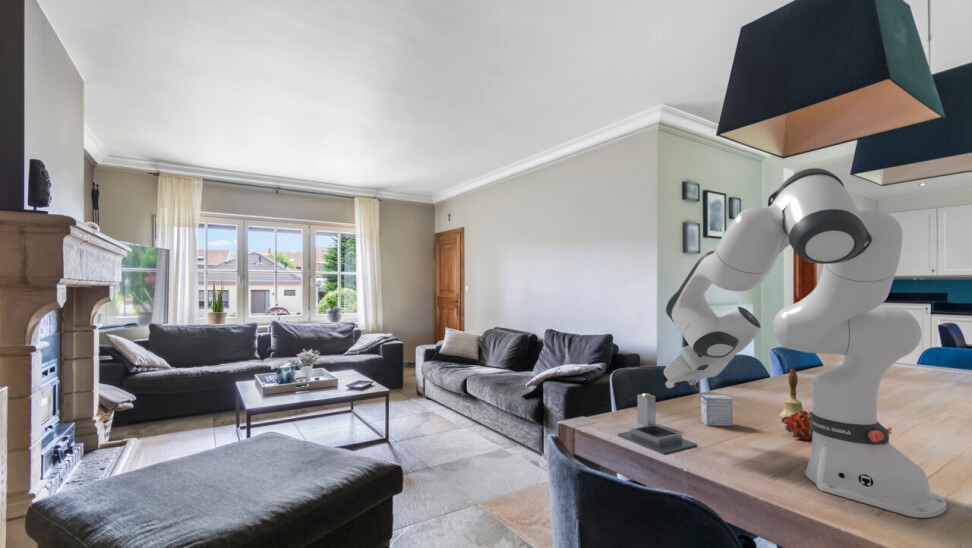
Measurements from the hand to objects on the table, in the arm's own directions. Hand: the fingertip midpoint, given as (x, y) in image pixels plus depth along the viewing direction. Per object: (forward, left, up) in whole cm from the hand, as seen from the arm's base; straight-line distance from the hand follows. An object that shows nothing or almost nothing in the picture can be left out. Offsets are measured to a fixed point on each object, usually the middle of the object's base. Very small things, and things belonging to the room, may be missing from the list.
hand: (679, 384), depth 128 cm
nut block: (+12, 0, -15) cm, 19 cm away
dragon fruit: (-18, -30, -15) cm, 38 cm away
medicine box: (+2, -20, -15) cm, 25 cm away
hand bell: (-5, -50, -15) cm, 53 cm away
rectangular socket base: (0, +9, -15) cm, 18 cm away
